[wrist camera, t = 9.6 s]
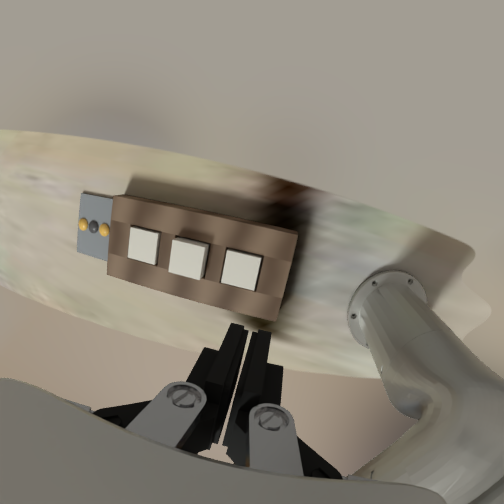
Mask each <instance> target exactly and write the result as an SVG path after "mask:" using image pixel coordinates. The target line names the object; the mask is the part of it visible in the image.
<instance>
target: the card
mask: <svg viewBox="0 0 504 504" xmlns="http://www.w3.org/2000/svg"><path fill="white" fill-rule="evenodd" d="M112 203H113V199H111V198H105V197H100V196H95V195H90V194H85V193H81V199H80V210H79V223H78V240H77V252H79V253H83V254H86V255H89V256H92V257H95V258H98V259H102V260H105V261H108V245H109V232H110V222H111V212H112Z"/></svg>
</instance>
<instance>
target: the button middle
mask: <svg viewBox="0 0 504 504" xmlns="http://www.w3.org/2000/svg"><path fill="white" fill-rule="evenodd" d="M209 245H210V244H208V243H204V242H199V241H195V240H191V239H187V238H182V237H177V238H175V239H173V240H172V248H171V255H170V263H169V271H168V272H171V273H174V274H178V275H182V276H185V277H189V278H193V279H197V280H200V279H201V278H202V277H203V276H204V275H205V269H206V263H207V257H208V251H209Z"/></svg>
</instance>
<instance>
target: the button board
mask: <svg viewBox="0 0 504 504" xmlns="http://www.w3.org/2000/svg"><path fill="white" fill-rule="evenodd" d="M133 226H140V227H144V228H148V229H152V230H157V231H161V232H162V233H161V241H160V249H159V257H158V263H157V264H155V265H153V264H149V263H146V262H142V261H139V260H135V259H132V258H128V248H129V238H130V228H131V227H133ZM177 237H182V238H187V239H191V240H195V241H199V242H204V243H208V244H210V245H209V251H208V257H207V263H206V269H205V275H204V276H203V277H202V278H201V279H200V280H197V279H193V278H189V277H185V276H182V275H178V274H174V273H171V272H168V271H169V263H170V255H171V248H172V240H173V239H175V238H177ZM297 238H298V231H294V230H289V229H285V228H281V227H276V226H272V225H268V224H263V223H259V222H255V221H250V220H246V219H241V218H237V217H232V216H227V215H223V214H218V213H213V212H209V211H204V210H199V209H195V208H190V207H185V206H180V205H175V204H170V203H165V202H160V201H155V200H150V199H145V198H140V197H135V196H129V195H115V196H113V203H112V212H111V222H110V232H109V245H108V261H107V275H110V276H113V277H116V278H119V279H122V280H125V281H129V282H132V283H135V284H138V285H141V286H145V287H148V288H151V289H155V290H158V291H161V292H165V293H168V294H171V295H175V296H178V297H182V298H185V299H189V300H193V301H196V302H200V303H204V304H207V305H211V306H215V307H219V308H222V309H226V310H230V311H234V312H238V313H242V314H246V315H250V316H254V317H258V318H263V319H267V320H271V321H275V322H276V320H277V316H278V313H279V309H280V305H281V301H282V298H283V294H284V290H285V286H286V282H287V278H288V274H289V270H290V267H291V263H292V259H293V254H294V250H295V246H296V242H297ZM229 248H233V249H237V250H242V251H246V252H250V253H254V254H259V255H263V256H262V260H261V265H260V269H259V274H258V278H257V283H256V286H255V289H254V291H253V290H249V289H245V288H241V287H237V286H233V285H229V284H225V283H221V280H222V274H223V269H224V264H225V258H226V253H227V250H228V249H229Z"/></svg>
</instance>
